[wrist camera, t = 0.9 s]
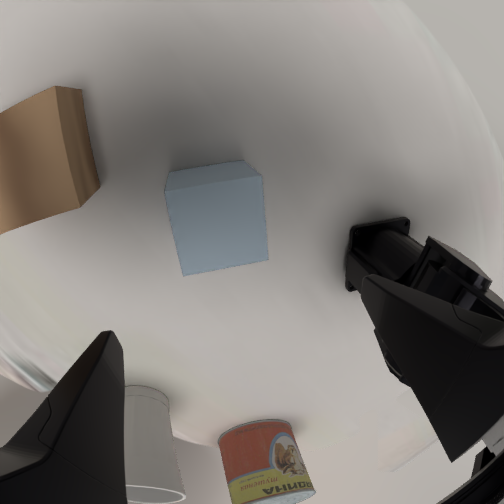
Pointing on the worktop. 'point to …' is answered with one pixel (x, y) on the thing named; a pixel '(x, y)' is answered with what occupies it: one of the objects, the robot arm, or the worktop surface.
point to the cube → (217, 216)
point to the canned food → (264, 464)
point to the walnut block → (44, 158)
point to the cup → (150, 449)
